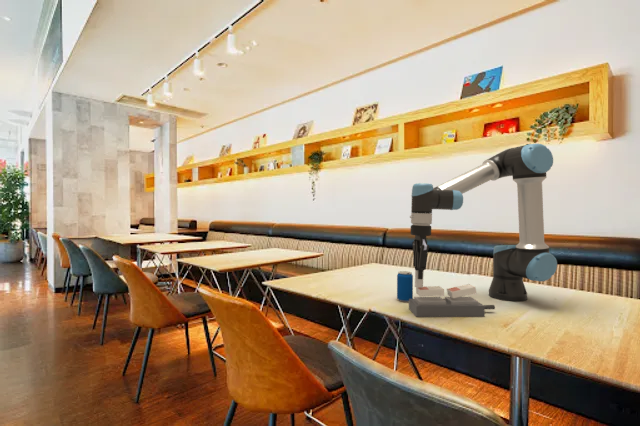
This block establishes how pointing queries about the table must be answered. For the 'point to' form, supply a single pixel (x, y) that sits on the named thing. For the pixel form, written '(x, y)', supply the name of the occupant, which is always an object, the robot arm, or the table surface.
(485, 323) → the table surface
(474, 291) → the rocker
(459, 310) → the power strip
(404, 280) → the beverage can
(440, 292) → the rocker
